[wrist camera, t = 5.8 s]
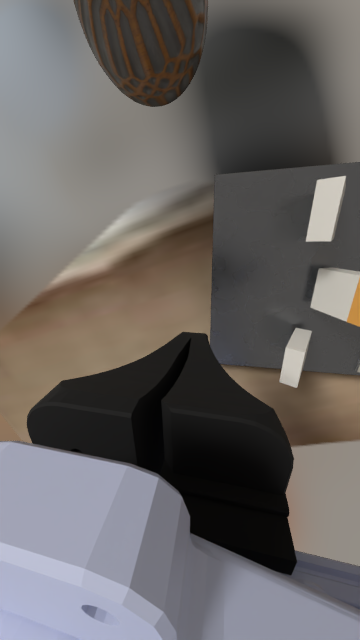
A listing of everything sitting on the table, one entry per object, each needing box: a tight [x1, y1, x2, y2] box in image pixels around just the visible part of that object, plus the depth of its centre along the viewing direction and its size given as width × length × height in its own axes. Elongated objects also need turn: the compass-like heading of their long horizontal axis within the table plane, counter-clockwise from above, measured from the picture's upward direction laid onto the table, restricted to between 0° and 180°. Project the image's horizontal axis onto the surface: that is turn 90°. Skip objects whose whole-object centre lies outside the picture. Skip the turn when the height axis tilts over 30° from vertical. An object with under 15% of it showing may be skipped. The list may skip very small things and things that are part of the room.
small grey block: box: [279, 328, 312, 388], centre depth 16 cm, size 3×1×4 cm, turn 1°
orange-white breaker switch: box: [310, 267, 360, 327], centre depth 14 cm, size 3×1×4 cm, turn 2°
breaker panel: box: [210, 162, 360, 375], centre depth 17 cm, size 16×16×2 cm
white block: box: [306, 176, 346, 242], centre depth 12 cm, size 3×1×4 cm, turn 2°
